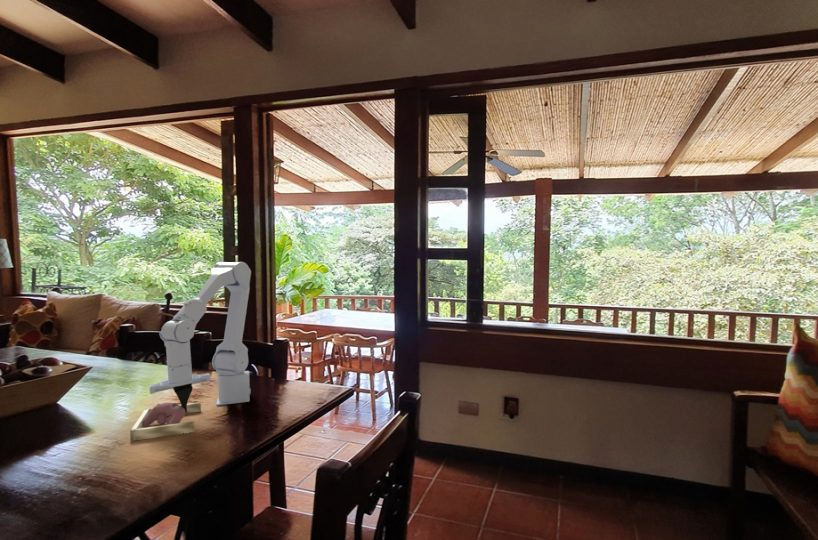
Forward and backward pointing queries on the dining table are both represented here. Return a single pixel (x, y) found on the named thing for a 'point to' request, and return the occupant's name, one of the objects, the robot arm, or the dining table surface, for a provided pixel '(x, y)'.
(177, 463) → the dining table surface
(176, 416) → the video game controller
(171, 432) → the bay
